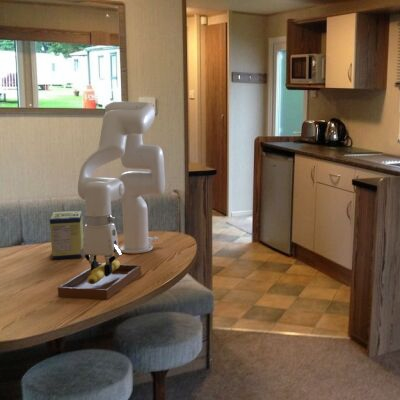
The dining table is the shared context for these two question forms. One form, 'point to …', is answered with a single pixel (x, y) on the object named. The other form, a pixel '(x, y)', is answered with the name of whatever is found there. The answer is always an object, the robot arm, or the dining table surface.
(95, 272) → the banana
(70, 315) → the dining table surface
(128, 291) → the dining table surface
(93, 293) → the tray
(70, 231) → the protein box
